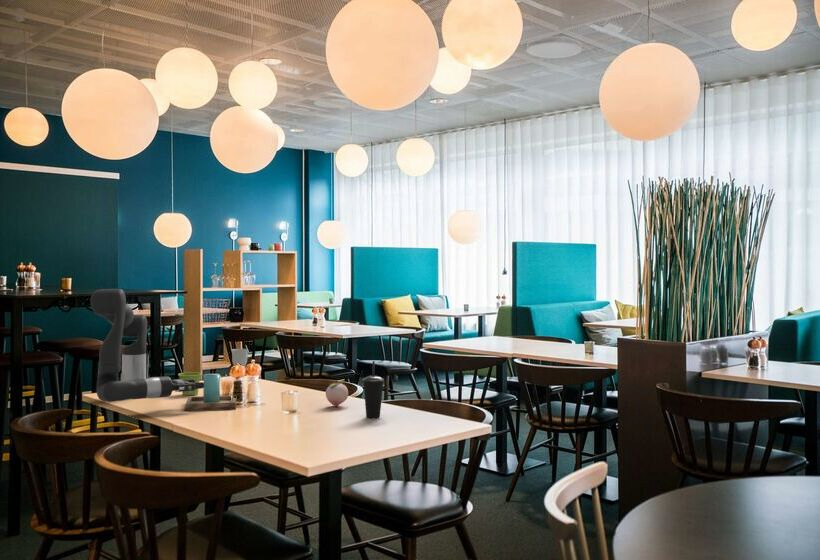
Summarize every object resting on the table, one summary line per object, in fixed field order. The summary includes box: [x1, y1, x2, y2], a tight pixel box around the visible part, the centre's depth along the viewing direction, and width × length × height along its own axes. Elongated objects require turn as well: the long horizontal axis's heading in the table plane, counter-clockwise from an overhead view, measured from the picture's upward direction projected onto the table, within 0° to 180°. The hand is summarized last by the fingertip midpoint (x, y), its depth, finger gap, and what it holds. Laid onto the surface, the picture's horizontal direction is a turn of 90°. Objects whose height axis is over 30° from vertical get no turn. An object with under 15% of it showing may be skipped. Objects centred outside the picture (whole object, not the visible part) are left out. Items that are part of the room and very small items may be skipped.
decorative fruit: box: [325, 380, 349, 407], centre depth 287 cm, size 9×8×10 cm
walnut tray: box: [185, 395, 237, 411], centre depth 285 cm, size 18×16×2 cm
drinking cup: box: [362, 360, 385, 419], centre depth 267 cm, size 8×8×20 cm
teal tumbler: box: [202, 373, 221, 403], centre depth 285 cm, size 6×6×11 cm
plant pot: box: [177, 371, 203, 397], centre depth 311 cm, size 9×9×9 cm
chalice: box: [230, 348, 249, 367], centre depth 320 cm, size 7×7×18 cm
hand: (198, 383), depth 281 cm, fingers open, 8 cm apart
